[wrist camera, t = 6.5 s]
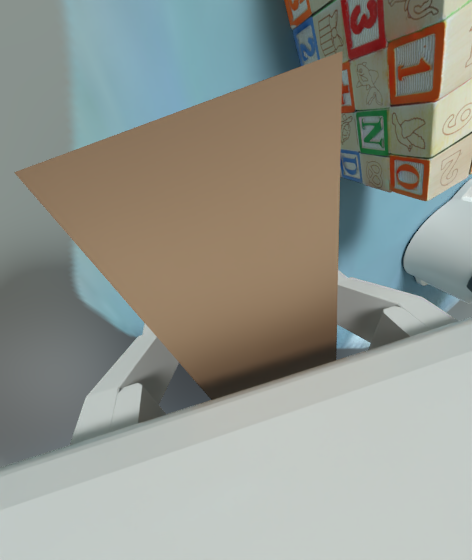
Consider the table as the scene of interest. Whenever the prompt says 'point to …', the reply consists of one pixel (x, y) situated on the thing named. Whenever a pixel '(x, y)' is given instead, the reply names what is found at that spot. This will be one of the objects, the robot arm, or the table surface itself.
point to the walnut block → (219, 225)
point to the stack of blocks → (397, 87)
